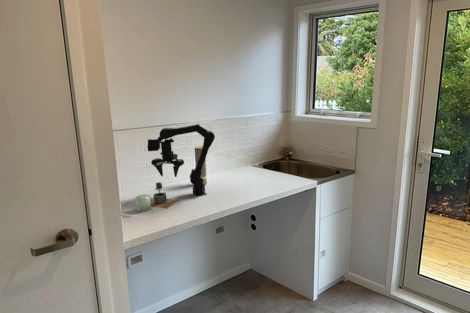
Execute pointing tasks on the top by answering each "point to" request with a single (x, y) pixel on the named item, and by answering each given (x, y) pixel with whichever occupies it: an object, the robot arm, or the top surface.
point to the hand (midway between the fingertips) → (168, 176)
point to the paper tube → (203, 171)
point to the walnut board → (166, 205)
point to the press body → (160, 198)
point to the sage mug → (143, 203)
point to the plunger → (159, 187)
